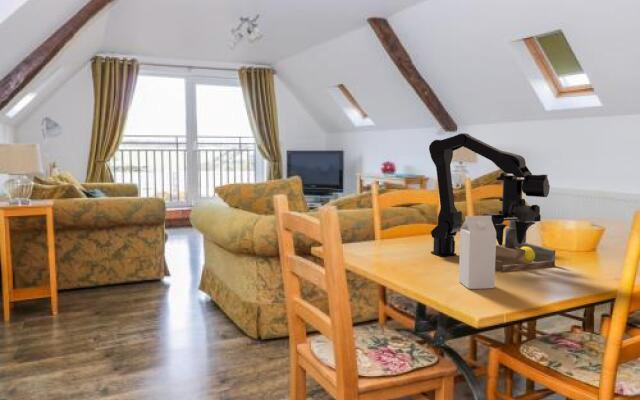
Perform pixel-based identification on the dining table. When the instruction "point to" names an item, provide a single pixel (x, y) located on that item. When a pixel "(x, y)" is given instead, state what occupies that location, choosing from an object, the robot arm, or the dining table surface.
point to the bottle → (513, 225)
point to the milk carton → (477, 252)
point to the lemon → (529, 254)
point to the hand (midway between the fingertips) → (510, 244)
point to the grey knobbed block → (510, 249)
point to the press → (542, 259)
